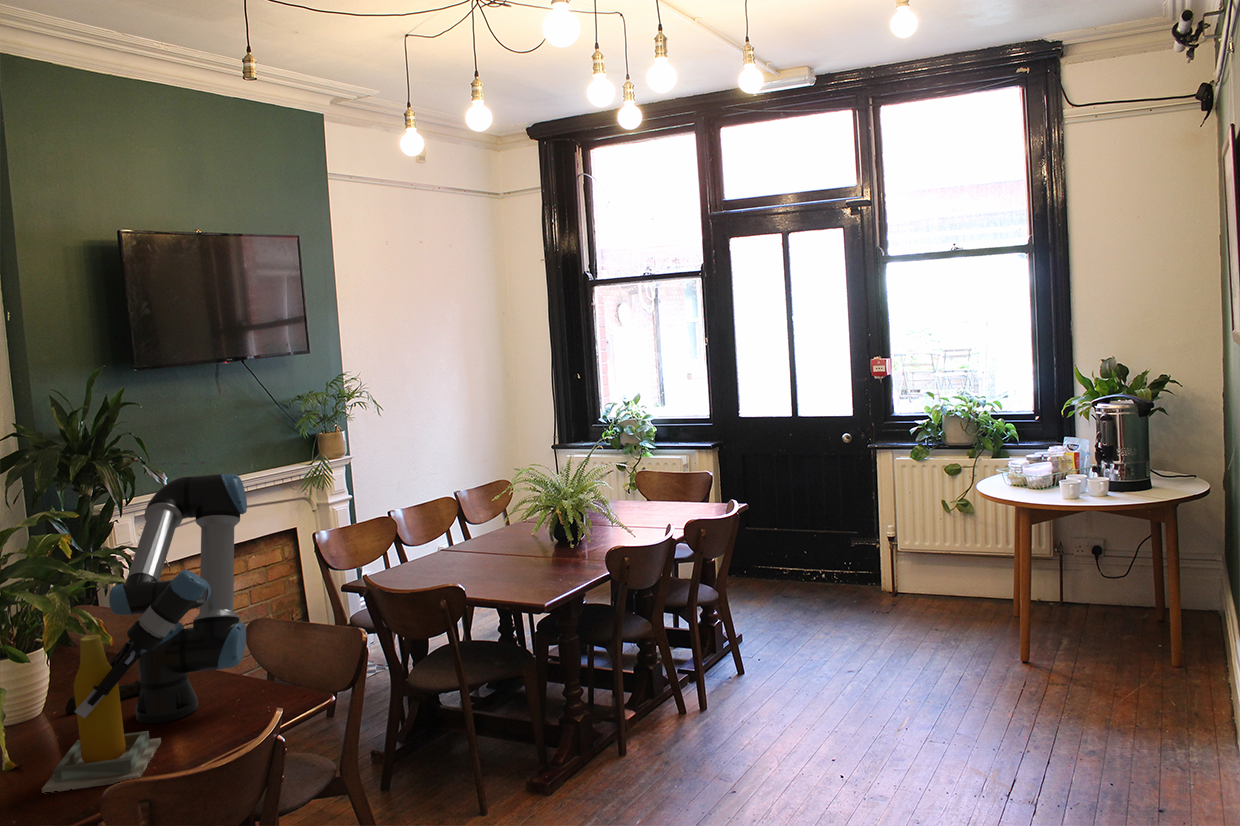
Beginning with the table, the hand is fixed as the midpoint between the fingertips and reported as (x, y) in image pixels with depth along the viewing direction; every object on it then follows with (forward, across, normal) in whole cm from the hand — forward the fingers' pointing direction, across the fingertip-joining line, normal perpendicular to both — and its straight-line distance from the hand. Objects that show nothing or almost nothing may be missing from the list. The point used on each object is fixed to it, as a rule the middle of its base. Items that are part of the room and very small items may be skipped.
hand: (82, 706), depth 221 cm
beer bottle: (+7, 0, -12) cm, 13 cm away
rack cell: (+9, 0, -13) cm, 16 cm away
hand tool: (+12, +44, -10) cm, 46 cm away
